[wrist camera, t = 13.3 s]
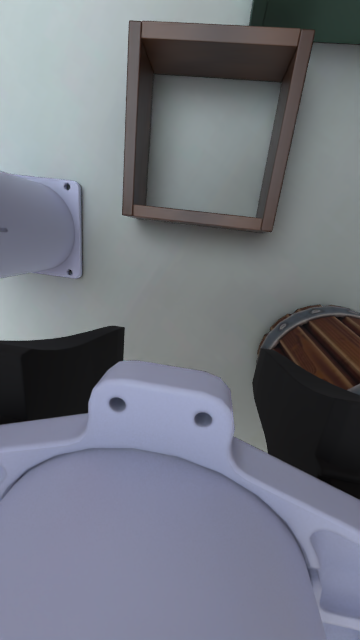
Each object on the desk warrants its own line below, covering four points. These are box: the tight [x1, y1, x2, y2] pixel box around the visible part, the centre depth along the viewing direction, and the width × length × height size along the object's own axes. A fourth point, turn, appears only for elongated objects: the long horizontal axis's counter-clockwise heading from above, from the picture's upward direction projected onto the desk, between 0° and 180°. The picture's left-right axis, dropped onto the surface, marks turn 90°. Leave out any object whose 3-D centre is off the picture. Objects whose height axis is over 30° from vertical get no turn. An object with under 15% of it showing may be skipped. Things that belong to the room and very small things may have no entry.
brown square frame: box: [122, 21, 315, 233], centre depth 18 cm, size 11×11×4 cm
